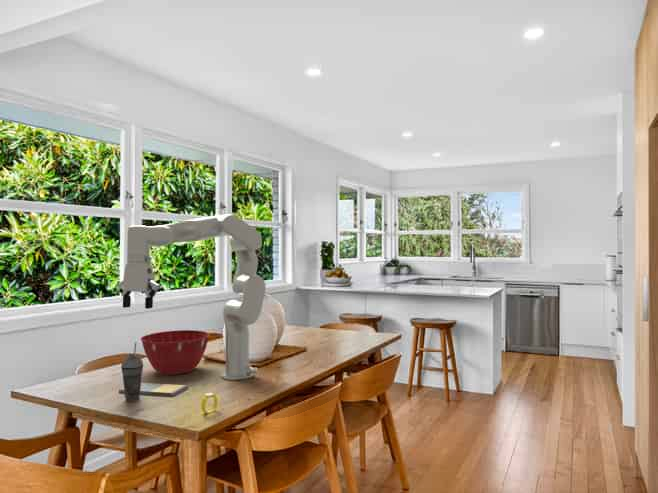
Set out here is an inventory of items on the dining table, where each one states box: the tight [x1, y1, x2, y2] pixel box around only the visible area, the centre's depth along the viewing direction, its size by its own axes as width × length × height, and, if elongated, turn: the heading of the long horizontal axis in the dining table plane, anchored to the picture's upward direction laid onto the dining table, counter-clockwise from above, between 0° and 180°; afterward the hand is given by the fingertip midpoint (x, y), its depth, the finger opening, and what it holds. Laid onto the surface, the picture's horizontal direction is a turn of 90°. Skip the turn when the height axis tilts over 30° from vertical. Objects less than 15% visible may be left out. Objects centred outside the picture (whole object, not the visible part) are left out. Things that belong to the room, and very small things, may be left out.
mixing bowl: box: [140, 329, 210, 376], centre depth 213 cm, size 28×28×16 cm
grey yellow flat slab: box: [118, 382, 188, 397], centre depth 183 cm, size 22×10×1 cm, turn 77°
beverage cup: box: [120, 341, 144, 403], centre depth 172 cm, size 7×7×20 cm
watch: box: [201, 392, 219, 415], centre depth 158 cm, size 6×3×6 cm, turn 149°
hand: (137, 307), depth 176 cm, fingers open, 9 cm apart
